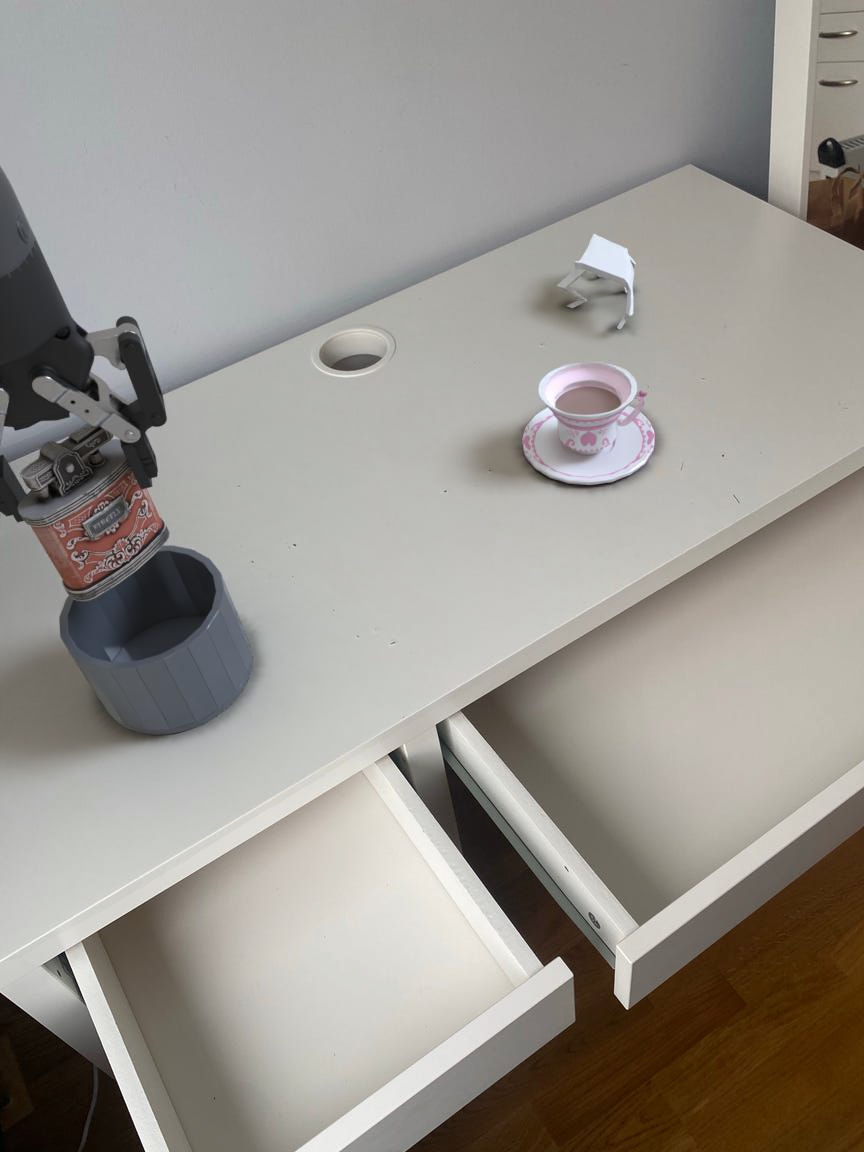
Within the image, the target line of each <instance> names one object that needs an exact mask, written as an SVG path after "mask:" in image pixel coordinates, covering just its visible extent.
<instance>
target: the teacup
mask: <svg viewBox="0 0 864 1152" xmlns="http://www.w3.org/2000/svg"><path fill="white" fill-rule="evenodd" d="M638 388H639V387H638V383H637V379H636V378H635V377H634V375H633V374H632V373H631V372H629V371H628V370H627V369H625V368H623V367H621V366H619V365H616V364H613V363H608V362H603V361H579V362H572V363H567V364H565V365H562V366H559V367H557V368H555V369H553V370H551V371H550V372H548V373H547V374H546V375H544V376H543V377H542V379H541V381H540V382H539V385H538V391H537V392H538V396H539V398H540V400H541V401H542V403H544V405H545V406H546V407H544V409H542V410H541V411H539V412H538V413H536V414H535V415H534V416H532V418H531V420H530V421H529V422H528V423H527V425H526V426H525V427H524V431H523V435H522V439H521V447H522V449H523V454H524V457H525V458H526V459H527V461H528V463H530V465H531V466H532V467H533V468H534V469H535V470H536V471H538V472H539V473H541V474H543V475H545V476H546V477H548V478H550V479H553V480H556V481H559V482H562V483H565V484H570V485H571V484H572V485H586V486H593V485H600V484H606V483H607V484H609V483H613V482H615V481H618V480H621V479H623V478H626V477H628V476H631V475H633V474H634V473H635V472H636V471H638V470H639V469H641V468H642V467H643V466H645V465H646V464H647V462H648V460H649V459H650V458H651V456H652V454H653V453H654V451H655V443H656V432H655V431H654V428H653V425H652V422H651V420H649V419H648V418H647V417H646V416H645V415H644V414H643V413H642V412H641V411H642V409H643V407H644V405H645V401H644V398H645V397H647V396H648V393H647V391H643V389H641V390H639V391H638ZM633 400H638V403H637V404H636V407H635V408H634V407H633V406H631V405H629V404H630V403H631V402H632V401H633Z"/></svg>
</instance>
